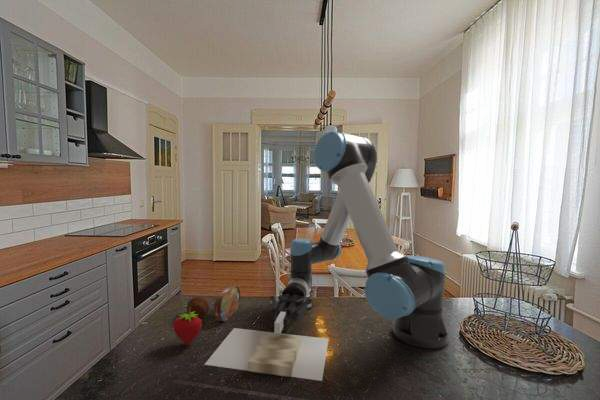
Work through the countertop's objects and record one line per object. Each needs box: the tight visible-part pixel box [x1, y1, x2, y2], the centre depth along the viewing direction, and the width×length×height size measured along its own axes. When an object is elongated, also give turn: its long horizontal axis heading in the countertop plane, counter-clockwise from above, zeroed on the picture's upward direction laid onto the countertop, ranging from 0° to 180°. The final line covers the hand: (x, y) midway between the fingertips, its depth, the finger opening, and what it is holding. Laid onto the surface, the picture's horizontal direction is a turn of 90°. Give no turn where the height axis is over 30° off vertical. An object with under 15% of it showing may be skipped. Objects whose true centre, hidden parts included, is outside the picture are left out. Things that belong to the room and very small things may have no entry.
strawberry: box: [172, 311, 203, 346], centre depth 80 cm, size 6×8×10 cm
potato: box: [186, 295, 210, 320], centre depth 97 cm, size 7×9×6 cm
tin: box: [213, 285, 241, 322], centre depth 98 cm, size 15×3×8 cm, turn 168°
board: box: [247, 333, 301, 378], centre depth 74 cm, size 10×2×13 cm
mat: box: [204, 327, 330, 382], centre depth 77 cm, size 28×18×1 cm, turn 80°
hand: (277, 328), depth 74 cm, fingers closed
